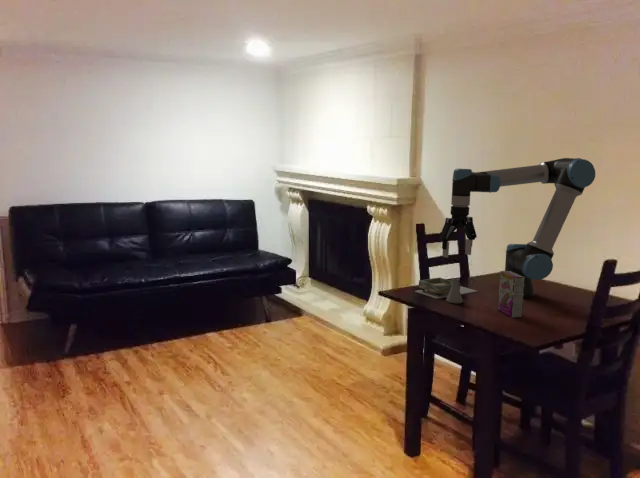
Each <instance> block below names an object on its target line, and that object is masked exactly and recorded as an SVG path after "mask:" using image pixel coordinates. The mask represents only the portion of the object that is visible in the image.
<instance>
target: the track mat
mask: <svg viewBox="0 0 640 478" xmlns="http://www.w3.org/2000/svg"><path fill="white" fill-rule="evenodd" d="M414 293H417V294H420V295H423V296H427V297H430V298H432V299H435V300H436V299H437V300H438V299H443V298H447V297H448V294H449V292H446V293H441V295H440V296H438V295H437V293H435V292H432V291H429V290H426V289H425V291H423V290H421V289H418V290H414ZM460 293H461V296H462V295H467V294H473V293H478V290H476V289H472V288H468V287H465V286H462V285H460Z"/></svg>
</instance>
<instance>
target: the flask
mask: <svg viewBox="0 0 640 478" xmlns="http://www.w3.org/2000/svg"><path fill="white" fill-rule="evenodd" d="M451 281H452V287H451V290H450V292H449V294H448V297H446V299H445V302H447V303H450V304H462V303H463V302H464V300H463V297H462V295H461V293H460V290H459V283H460V278H455V277H454V278H452V279H451Z"/></svg>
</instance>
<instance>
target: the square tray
mask: <svg viewBox="0 0 640 478" xmlns="http://www.w3.org/2000/svg"><path fill="white" fill-rule="evenodd" d="M460 286H461V283H460V282H459V290H460ZM451 287H452V279H451V280H450V279H446V278H443V277H434V278H426V279H420V280H418V288H419V289H420V290H423V291H425V289H426V290H429V291H432V292H435V293H437V295H438V296H440V295H441V293H446V292H450V290H451Z"/></svg>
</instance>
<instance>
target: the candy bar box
mask: <svg viewBox="0 0 640 478" xmlns="http://www.w3.org/2000/svg"><path fill="white" fill-rule="evenodd" d="M524 283H525V277H523V276H521V275H518V274H516V273H514V272H511V271H505V270H502V271H499V285H498V297H497V298H498V299H497V301H498V302H497V310H498V311H499V312H501V313H502V314H503V315H507V316H508V317H509V318H512V319H516V318H517V319H518V317H519V318H523V308H524V307H523V306H524V298H523V297H524Z"/></svg>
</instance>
